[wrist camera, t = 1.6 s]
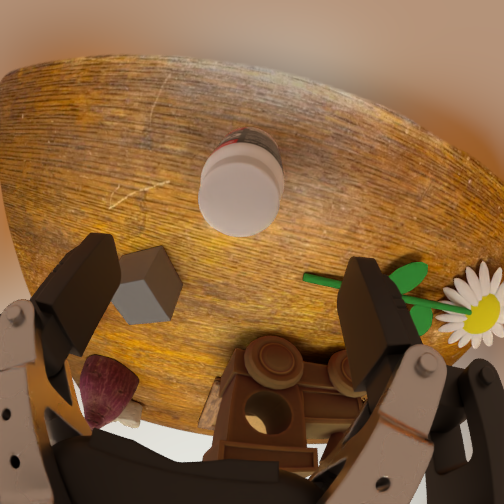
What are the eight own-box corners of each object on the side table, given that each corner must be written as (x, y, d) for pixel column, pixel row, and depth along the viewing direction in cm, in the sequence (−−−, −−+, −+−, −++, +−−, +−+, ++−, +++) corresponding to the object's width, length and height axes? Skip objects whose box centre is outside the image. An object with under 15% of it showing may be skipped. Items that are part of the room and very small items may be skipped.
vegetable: (101, 335, 40) (60, 394, 26) (149, 369, 42) (123, 436, 28) (84, 364, 42) (50, 417, 28) (127, 394, 45) (103, 452, 30)
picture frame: (279, 432, 53) (328, 391, 40) (278, 439, 52) (329, 401, 39) (198, 421, 51) (216, 375, 38) (197, 428, 50) (214, 386, 36)
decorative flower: (290, 305, 32) (474, 337, 29) (286, 336, 27) (485, 360, 25) (320, 203, 25) (519, 268, 23) (323, 225, 21) (536, 289, 19)
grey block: (122, 255, 26) (101, 287, 22) (162, 245, 25) (143, 279, 21) (144, 291, 29) (128, 325, 24) (183, 284, 28) (170, 321, 24)
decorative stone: (103, 406, 51) (86, 426, 41) (107, 377, 51) (89, 395, 41) (143, 425, 51) (132, 448, 41) (150, 396, 52) (138, 418, 42)
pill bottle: (236, 114, 18) (217, 135, 11) (292, 146, 19) (306, 186, 12) (207, 167, 21) (175, 216, 14) (259, 195, 22) (254, 257, 15)
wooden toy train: (213, 368, 37) (197, 477, 23) (234, 320, 30) (216, 467, 17) (336, 388, 39) (345, 482, 26) (377, 349, 33) (402, 461, 19)
